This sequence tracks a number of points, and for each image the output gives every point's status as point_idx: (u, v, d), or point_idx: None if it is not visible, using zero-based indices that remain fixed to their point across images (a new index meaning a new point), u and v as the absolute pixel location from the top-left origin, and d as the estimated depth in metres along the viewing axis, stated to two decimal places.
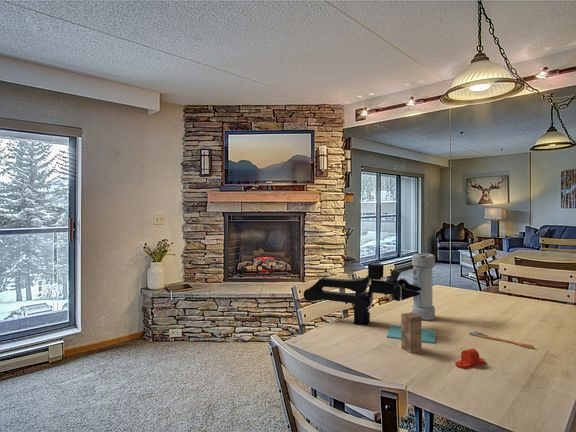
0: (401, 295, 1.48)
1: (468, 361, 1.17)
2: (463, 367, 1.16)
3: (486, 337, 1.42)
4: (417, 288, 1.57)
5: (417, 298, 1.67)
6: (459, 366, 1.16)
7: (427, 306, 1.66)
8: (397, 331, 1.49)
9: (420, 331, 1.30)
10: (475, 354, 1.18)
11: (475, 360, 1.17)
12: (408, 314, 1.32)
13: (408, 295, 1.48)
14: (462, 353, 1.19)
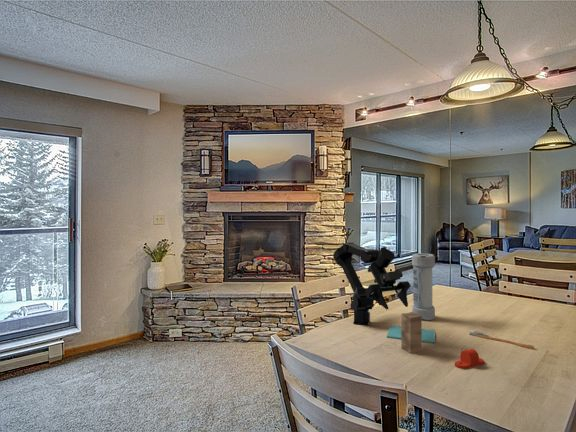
0: (371, 295, 1.41)
1: (467, 361, 1.17)
2: (462, 367, 1.15)
3: (486, 337, 1.42)
4: (405, 302, 1.41)
5: (417, 298, 1.67)
6: (458, 366, 1.16)
7: (427, 306, 1.66)
8: (397, 331, 1.49)
9: (420, 331, 1.30)
10: (474, 354, 1.17)
11: (474, 360, 1.17)
12: (408, 314, 1.32)
13: (378, 300, 1.40)
14: (461, 353, 1.19)
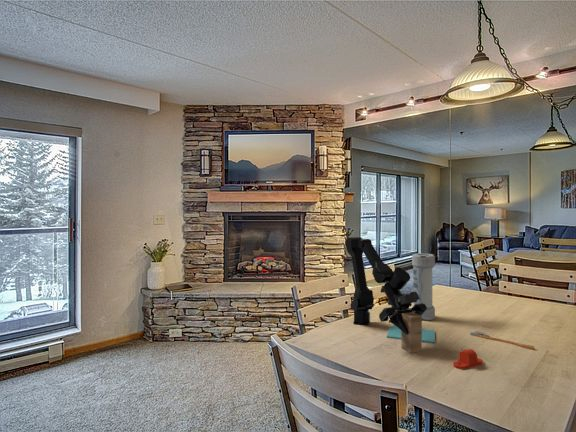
0: (390, 319, 1.33)
1: (466, 362, 1.17)
2: (461, 368, 1.15)
3: (487, 337, 1.41)
4: None
5: None
6: (457, 367, 1.16)
7: (427, 306, 1.66)
8: (397, 331, 1.49)
9: (420, 331, 1.30)
10: (473, 355, 1.17)
11: (473, 361, 1.17)
12: (409, 314, 1.32)
13: (398, 324, 1.32)
14: (460, 354, 1.19)
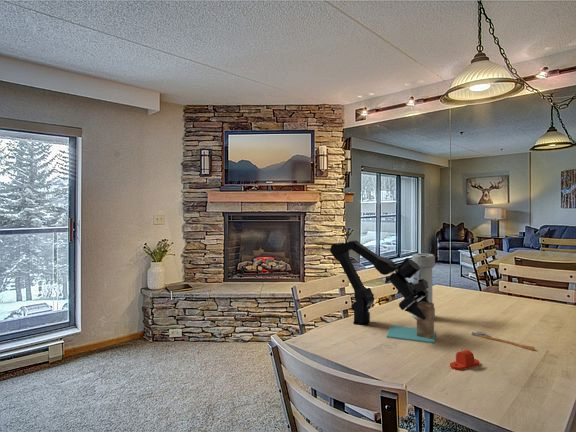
0: (407, 307, 1.40)
1: (463, 362, 1.16)
2: (458, 368, 1.15)
3: (488, 338, 1.41)
4: None
5: None
6: (454, 367, 1.15)
7: None
8: (397, 331, 1.49)
9: (433, 317, 1.44)
10: (470, 355, 1.17)
11: (470, 361, 1.16)
12: (422, 303, 1.44)
13: (414, 312, 1.41)
14: (457, 354, 1.18)
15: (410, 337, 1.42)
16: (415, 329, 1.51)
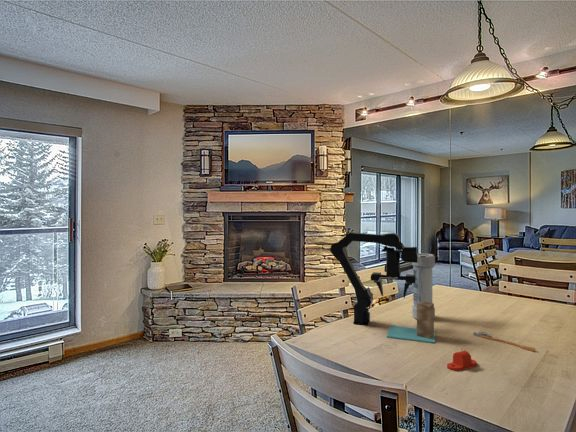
0: None
1: (460, 363, 1.16)
2: (455, 369, 1.14)
3: (489, 338, 1.41)
4: (382, 292, 1.59)
5: (417, 298, 1.67)
6: (451, 368, 1.15)
7: None
8: (397, 331, 1.49)
9: (433, 317, 1.44)
10: (467, 356, 1.16)
11: (467, 362, 1.16)
12: (422, 303, 1.44)
13: None
14: (454, 355, 1.18)
15: (410, 337, 1.42)
16: (415, 329, 1.51)
